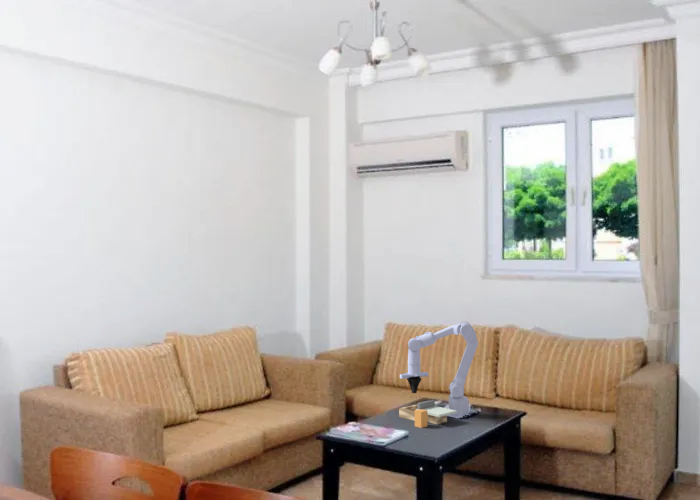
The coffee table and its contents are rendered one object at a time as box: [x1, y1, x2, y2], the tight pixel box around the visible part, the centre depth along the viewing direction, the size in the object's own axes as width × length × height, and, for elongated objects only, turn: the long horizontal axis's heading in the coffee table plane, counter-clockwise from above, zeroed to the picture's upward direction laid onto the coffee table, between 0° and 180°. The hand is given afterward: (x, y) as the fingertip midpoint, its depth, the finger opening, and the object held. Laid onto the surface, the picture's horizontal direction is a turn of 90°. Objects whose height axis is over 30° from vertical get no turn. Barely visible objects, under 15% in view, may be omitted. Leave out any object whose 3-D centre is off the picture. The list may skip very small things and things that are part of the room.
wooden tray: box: [398, 404, 448, 425], centre depth 337 cm, size 12×21×4 cm, turn 41°
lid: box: [416, 399, 457, 417], centre depth 332 cm, size 12×14×4 cm
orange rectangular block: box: [414, 409, 428, 429], centre depth 324 cm, size 4×4×7 cm
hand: (414, 392), depth 345 cm, fingers closed
